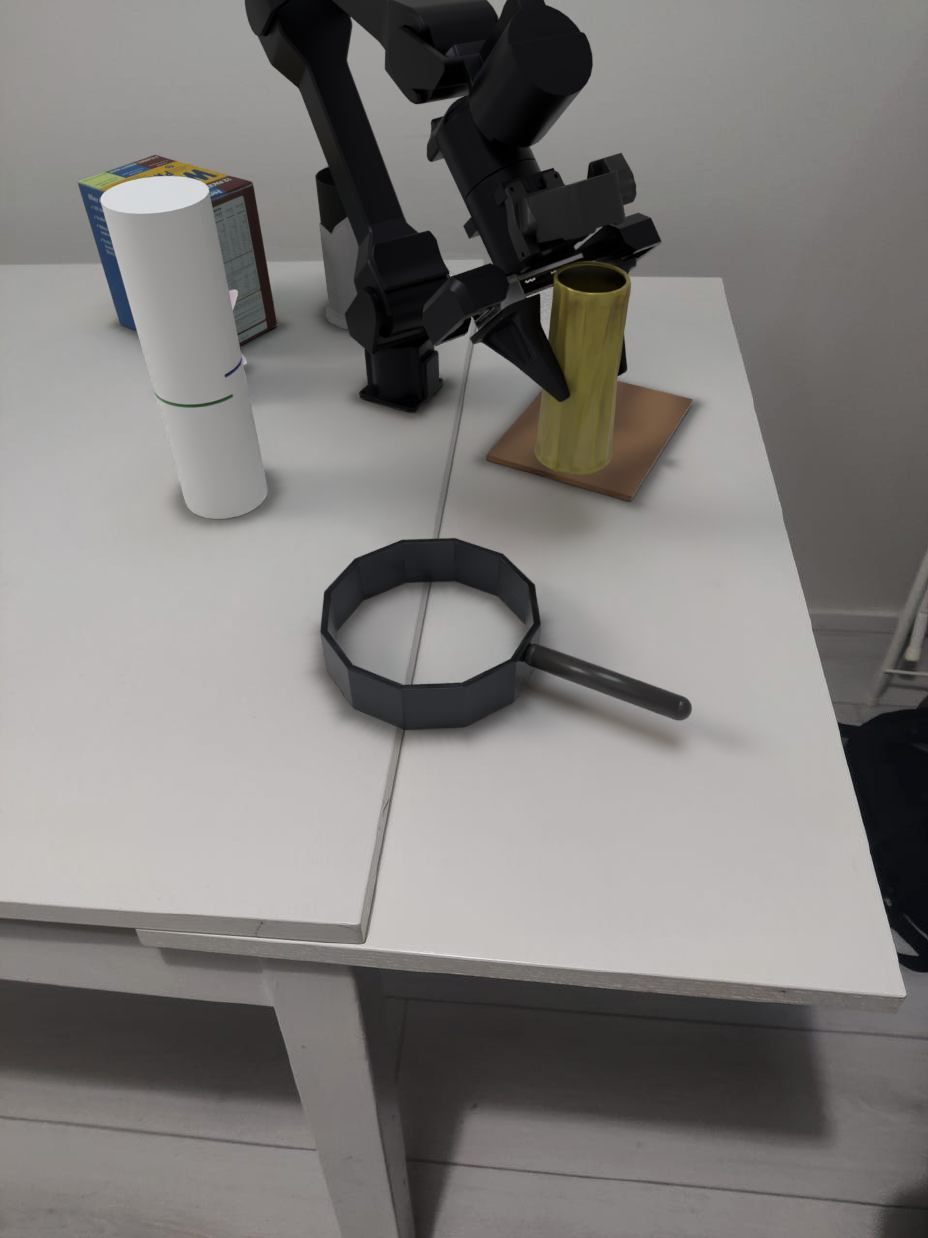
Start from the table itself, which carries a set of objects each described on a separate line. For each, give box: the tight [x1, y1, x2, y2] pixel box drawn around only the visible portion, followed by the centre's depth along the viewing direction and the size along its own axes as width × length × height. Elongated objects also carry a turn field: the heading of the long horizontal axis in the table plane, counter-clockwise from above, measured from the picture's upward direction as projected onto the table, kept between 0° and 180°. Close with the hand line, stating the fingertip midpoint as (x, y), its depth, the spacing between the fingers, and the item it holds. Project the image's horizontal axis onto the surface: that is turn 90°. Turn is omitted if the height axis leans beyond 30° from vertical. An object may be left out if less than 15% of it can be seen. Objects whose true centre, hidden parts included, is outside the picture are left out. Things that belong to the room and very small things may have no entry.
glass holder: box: [314, 164, 359, 330], centre depth 98 cm, size 9×14×15 cm, turn 24°
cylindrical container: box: [100, 176, 269, 520], centre depth 68 cm, size 7×7×25 cm
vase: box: [534, 261, 632, 475], centre depth 64 cm, size 6×6×14 cm
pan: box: [319, 537, 693, 730], centre depth 60 cm, size 26×15×4 cm, turn 63°
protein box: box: [76, 154, 278, 346], centre depth 94 cm, size 10×15×16 cm
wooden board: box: [485, 380, 694, 502], centre depth 83 cm, size 14×18×1 cm
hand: (593, 386), depth 64 cm, fingers closed on vase, 5 cm apart
